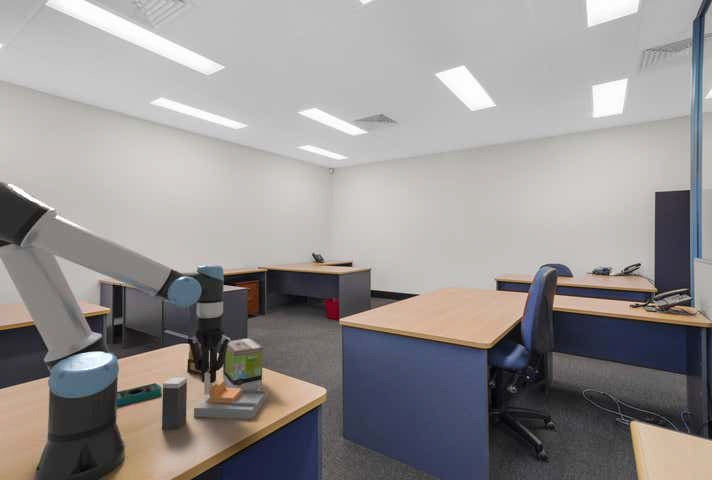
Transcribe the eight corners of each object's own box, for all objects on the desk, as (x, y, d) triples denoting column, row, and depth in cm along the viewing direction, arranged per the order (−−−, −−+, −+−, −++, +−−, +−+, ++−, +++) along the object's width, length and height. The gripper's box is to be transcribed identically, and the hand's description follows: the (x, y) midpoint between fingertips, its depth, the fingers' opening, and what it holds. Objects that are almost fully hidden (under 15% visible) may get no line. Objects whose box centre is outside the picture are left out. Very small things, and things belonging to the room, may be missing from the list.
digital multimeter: (163, 396, 107) (163, 387, 107) (106, 411, 97) (106, 401, 97) (158, 389, 113) (158, 381, 113) (104, 402, 103) (104, 393, 103)
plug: (177, 429, 87) (178, 383, 87) (161, 428, 87) (162, 383, 87) (186, 421, 91) (187, 377, 91) (171, 420, 91) (172, 377, 92)
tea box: (263, 389, 112) (263, 346, 112) (232, 397, 106) (233, 351, 107) (249, 376, 124) (250, 336, 125) (222, 381, 118) (222, 340, 119)
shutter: (232, 403, 96) (233, 389, 96) (209, 402, 96) (209, 389, 96) (242, 393, 103) (242, 380, 103) (220, 392, 103) (220, 379, 103)
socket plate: (252, 418, 92) (252, 406, 93) (193, 416, 93) (194, 405, 93) (266, 398, 105) (267, 387, 106) (215, 396, 106) (215, 386, 106)
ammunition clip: (187, 371, 128) (187, 341, 129) (191, 370, 130) (191, 339, 130) (205, 376, 123) (206, 344, 124) (209, 375, 125) (210, 343, 125)
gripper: (235, 313, 104) (234, 388, 103) (195, 313, 105) (194, 387, 104) (225, 318, 97) (224, 398, 96) (182, 317, 97) (181, 397, 96)
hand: (208, 392), depth 100 cm, fingers closed
